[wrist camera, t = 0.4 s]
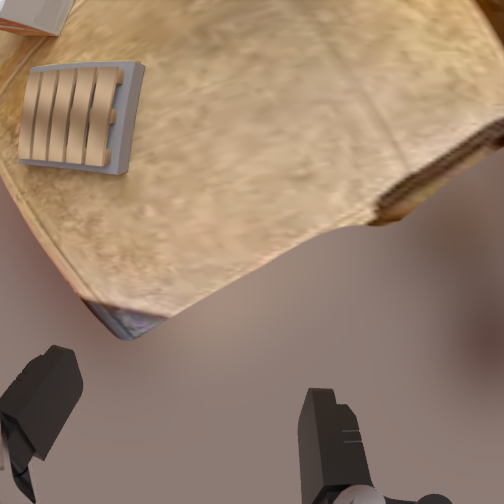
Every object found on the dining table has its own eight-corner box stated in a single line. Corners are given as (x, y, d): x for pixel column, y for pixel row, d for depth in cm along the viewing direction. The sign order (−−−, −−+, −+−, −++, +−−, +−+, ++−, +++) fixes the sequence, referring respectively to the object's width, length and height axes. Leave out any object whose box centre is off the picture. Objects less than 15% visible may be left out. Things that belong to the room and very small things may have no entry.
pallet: (34, 74, 27) (27, 73, 26) (125, 69, 28) (119, 66, 26) (24, 156, 31) (16, 158, 30) (110, 165, 32) (103, 166, 30)
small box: (23, 36, 28) (-36, 23, 15) (39, -1, 26) (-15, -22, 13) (59, 37, 28) (-3, 18, 16) (77, -2, 26) (21, -33, 14)
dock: (43, 68, 30) (30, 66, 27) (145, 64, 30) (136, 59, 27) (31, 160, 34) (17, 163, 32) (127, 171, 35) (117, 174, 32)
